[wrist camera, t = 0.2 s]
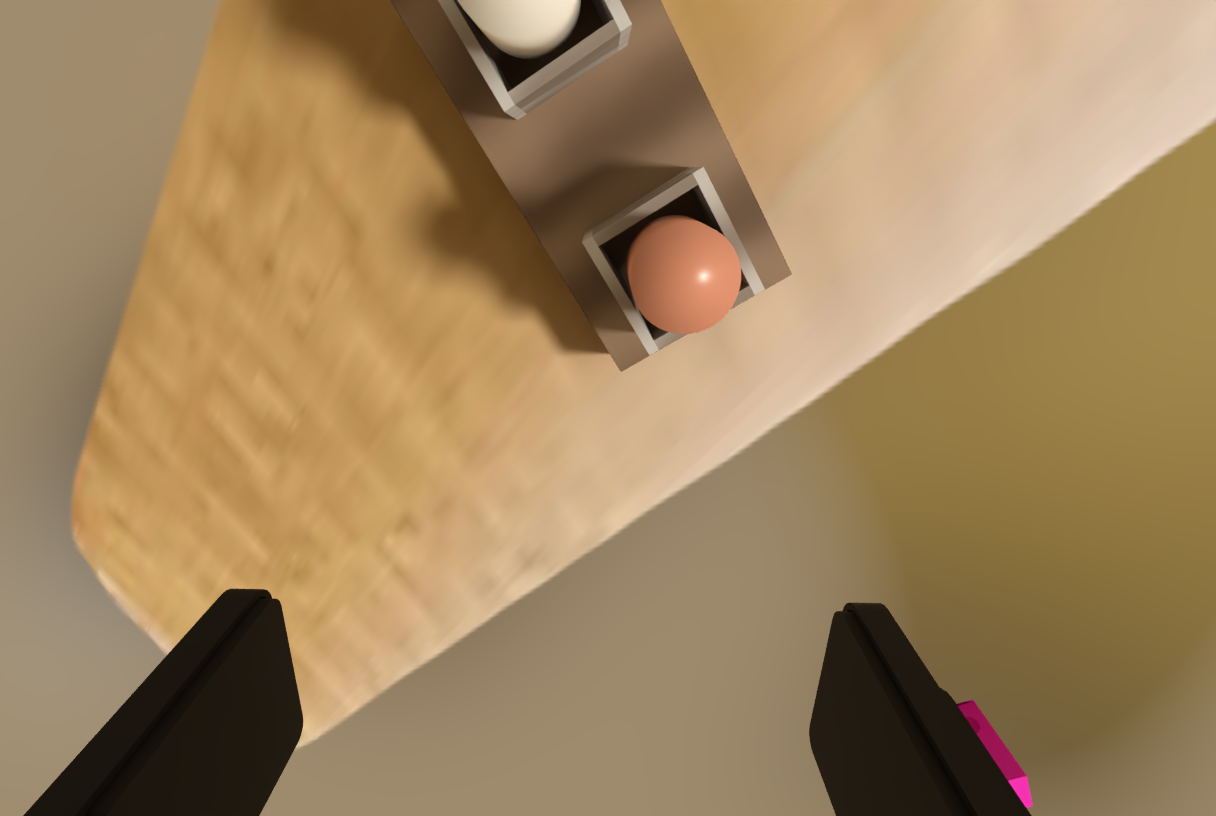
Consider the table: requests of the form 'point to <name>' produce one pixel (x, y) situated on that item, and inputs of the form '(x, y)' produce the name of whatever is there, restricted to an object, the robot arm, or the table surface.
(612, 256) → the button box
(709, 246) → the plunger salmon pink
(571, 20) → the plunger white
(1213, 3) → the table surface
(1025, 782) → the toy block
